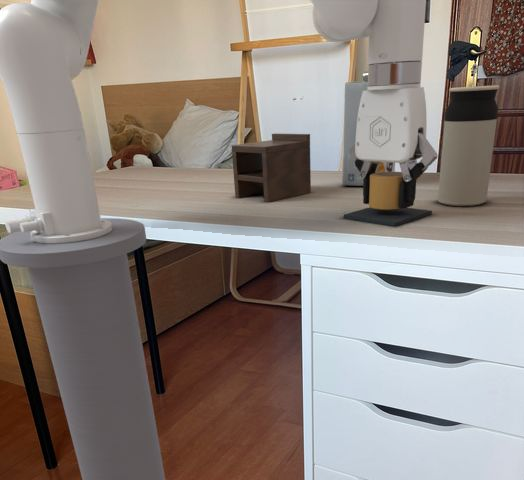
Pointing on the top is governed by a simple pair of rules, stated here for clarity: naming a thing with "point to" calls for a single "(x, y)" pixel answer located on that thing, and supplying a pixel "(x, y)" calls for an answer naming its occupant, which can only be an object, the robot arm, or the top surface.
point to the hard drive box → (354, 134)
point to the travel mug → (468, 145)
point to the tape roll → (385, 190)
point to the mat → (387, 215)
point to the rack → (273, 167)
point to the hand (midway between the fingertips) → (387, 203)
